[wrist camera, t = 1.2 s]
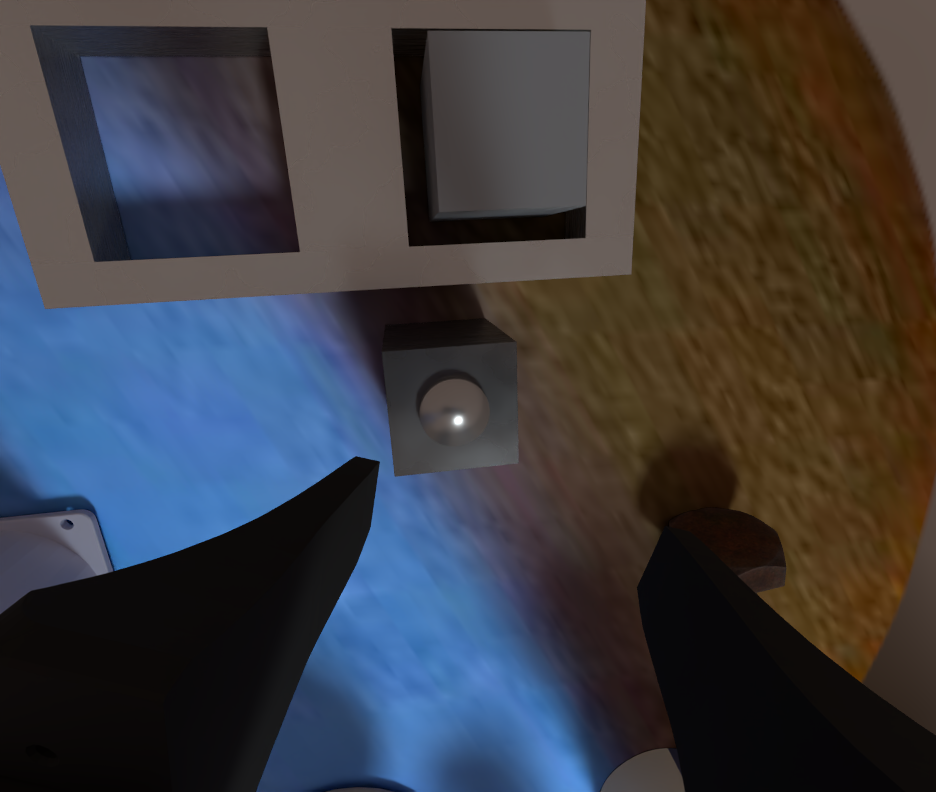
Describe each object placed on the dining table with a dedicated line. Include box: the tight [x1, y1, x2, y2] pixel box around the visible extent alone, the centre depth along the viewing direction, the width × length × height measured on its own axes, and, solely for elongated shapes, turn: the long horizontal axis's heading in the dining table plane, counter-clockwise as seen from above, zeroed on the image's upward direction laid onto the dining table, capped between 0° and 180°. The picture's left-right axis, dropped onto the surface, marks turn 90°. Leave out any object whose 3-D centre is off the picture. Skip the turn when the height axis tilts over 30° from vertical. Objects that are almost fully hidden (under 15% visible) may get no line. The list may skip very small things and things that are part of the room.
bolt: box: [669, 508, 786, 594], centre depth 27 cm, size 6×5×15 cm
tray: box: [0, 0, 646, 309], centre depth 18 cm, size 22×10×2 cm, turn 93°
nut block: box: [382, 318, 519, 476], centre depth 19 cm, size 4×4×6 cm
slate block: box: [420, 31, 590, 222], centre depth 17 cm, size 5×5×5 cm
